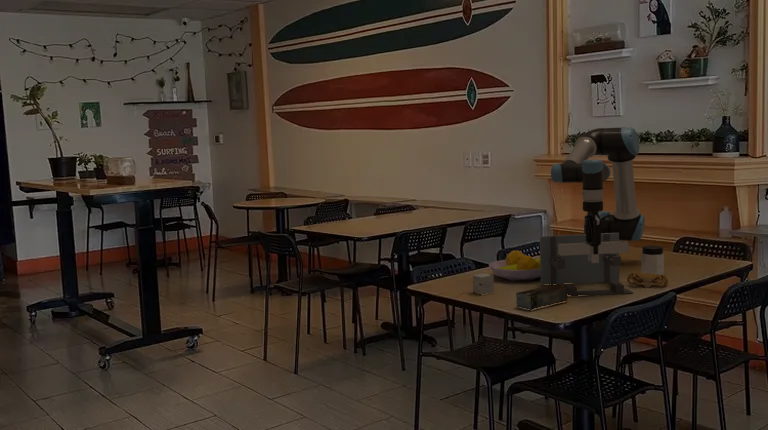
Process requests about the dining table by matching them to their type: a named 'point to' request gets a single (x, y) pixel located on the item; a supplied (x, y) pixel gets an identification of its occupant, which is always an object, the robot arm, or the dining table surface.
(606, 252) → the rail
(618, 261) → the panel
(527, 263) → the fruit bowl
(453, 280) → the dining table surface
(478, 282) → the skincare box
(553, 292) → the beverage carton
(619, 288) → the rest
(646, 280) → the crab model
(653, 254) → the jar
